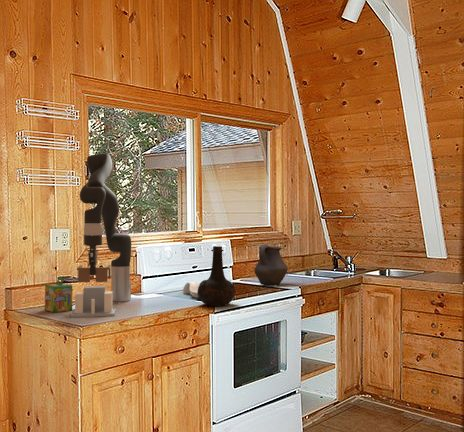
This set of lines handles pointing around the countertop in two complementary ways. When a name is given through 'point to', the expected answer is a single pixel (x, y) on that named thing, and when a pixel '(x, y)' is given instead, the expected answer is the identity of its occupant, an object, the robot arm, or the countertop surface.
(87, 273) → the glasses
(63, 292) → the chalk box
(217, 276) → the glass bottle
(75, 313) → the display stand
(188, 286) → the spoon rest
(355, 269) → the countertop surface
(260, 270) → the pitcher
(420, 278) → the countertop surface
